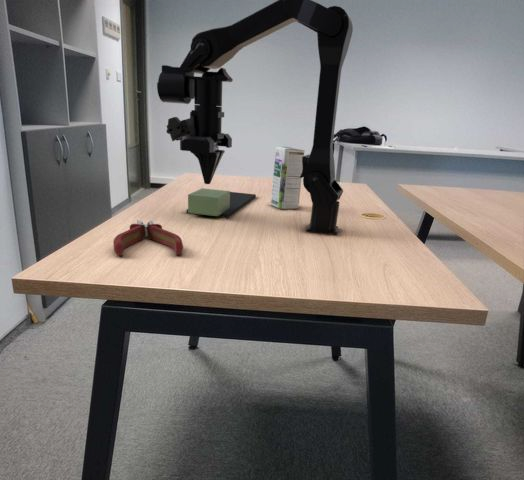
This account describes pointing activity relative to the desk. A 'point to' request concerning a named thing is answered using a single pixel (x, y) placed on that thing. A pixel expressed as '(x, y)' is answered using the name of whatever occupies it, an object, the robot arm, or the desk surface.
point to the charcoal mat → (235, 203)
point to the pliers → (153, 233)
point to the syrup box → (287, 178)
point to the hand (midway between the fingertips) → (207, 183)
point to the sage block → (208, 202)
